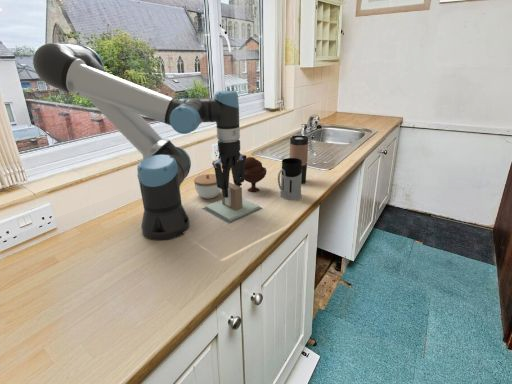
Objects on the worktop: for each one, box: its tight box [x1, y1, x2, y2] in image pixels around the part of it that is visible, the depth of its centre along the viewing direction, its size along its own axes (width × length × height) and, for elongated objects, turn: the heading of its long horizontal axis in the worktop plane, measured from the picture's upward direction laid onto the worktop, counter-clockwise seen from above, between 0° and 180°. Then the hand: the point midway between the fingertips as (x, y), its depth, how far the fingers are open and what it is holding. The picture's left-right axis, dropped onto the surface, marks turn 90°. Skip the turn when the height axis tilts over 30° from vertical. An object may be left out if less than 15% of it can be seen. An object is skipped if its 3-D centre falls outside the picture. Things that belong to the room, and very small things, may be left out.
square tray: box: [201, 206, 264, 224], centre depth 115 cm, size 16×16×1 cm
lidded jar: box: [193, 173, 221, 200], centre depth 125 cm, size 11×11×9 cm
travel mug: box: [289, 134, 309, 185], centre depth 136 cm, size 8×8×20 cm
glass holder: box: [277, 157, 303, 202], centre depth 120 cm, size 9×14×15 cm, turn 146°
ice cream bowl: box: [244, 156, 267, 194], centre depth 128 cm, size 11×11×15 cm
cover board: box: [204, 181, 260, 221], centre depth 113 cm, size 14×14×9 cm
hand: (232, 203), depth 114 cm, fingers closed on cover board, 3 cm apart
